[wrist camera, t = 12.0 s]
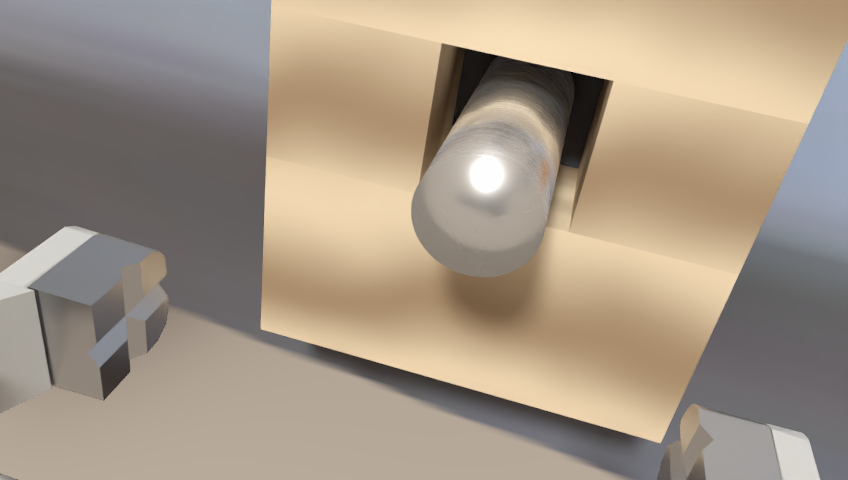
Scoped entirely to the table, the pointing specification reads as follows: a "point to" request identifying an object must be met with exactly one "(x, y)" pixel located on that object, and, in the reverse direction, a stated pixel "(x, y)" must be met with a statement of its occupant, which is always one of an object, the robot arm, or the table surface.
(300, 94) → the oak hole block
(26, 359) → the robot arm
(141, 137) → the table surface
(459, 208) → the steel pin
